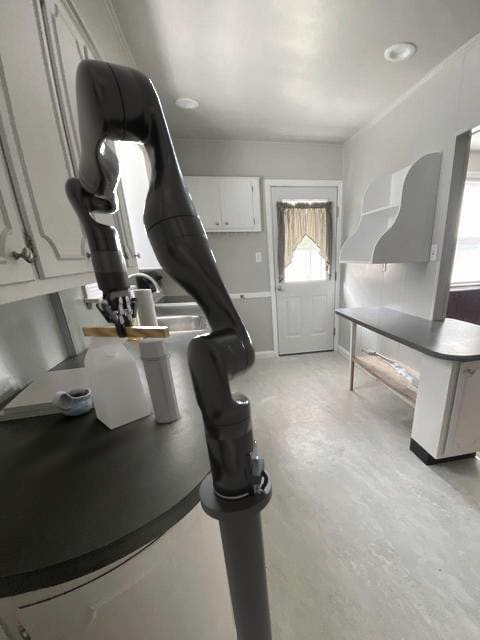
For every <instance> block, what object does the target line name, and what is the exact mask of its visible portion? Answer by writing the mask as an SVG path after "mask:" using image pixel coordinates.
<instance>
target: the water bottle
mask: <svg viewBox="0 0 480 640" xmlns="http://www.w3.org/2000/svg"><path fill="white" fill-rule="evenodd" d="M138 346H139V353H140V354H139V355H140V357H139V358H140V359H139V360H141V361H142V365H143V368H144V369H143V370H144V373H145V379H146V382H147V388H148V391H149V396H150V400H151V404H152V409H153V414H154V418H155V421H156V422H157V423H159V424H168V423H174V421H176V420H178V419H179V417H180V416H181V414H180V410H179V403H178V399H177V394H176V389H175V382H174V377H173V373H172V367H171V362H170V358H171V354H170V353H169V351H168V349H167V346H166V342H165V338H141V339H140V340H138Z"/></svg>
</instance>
